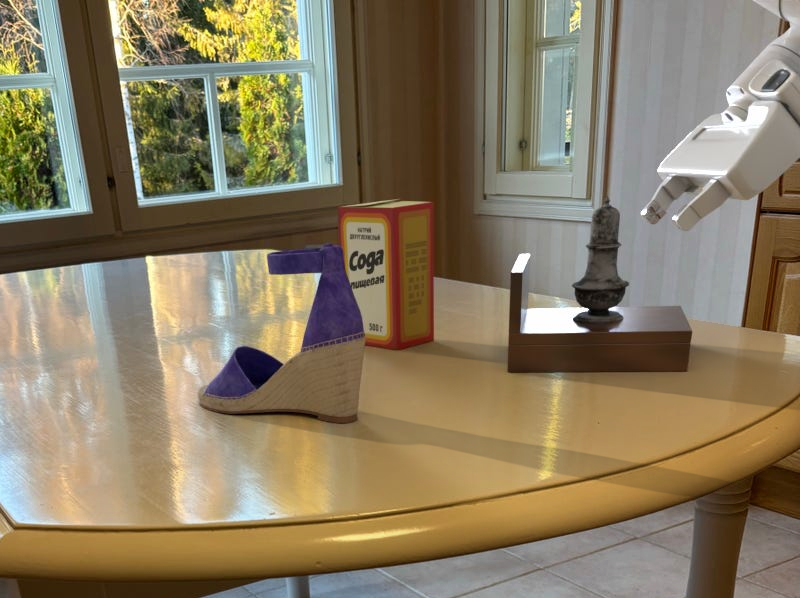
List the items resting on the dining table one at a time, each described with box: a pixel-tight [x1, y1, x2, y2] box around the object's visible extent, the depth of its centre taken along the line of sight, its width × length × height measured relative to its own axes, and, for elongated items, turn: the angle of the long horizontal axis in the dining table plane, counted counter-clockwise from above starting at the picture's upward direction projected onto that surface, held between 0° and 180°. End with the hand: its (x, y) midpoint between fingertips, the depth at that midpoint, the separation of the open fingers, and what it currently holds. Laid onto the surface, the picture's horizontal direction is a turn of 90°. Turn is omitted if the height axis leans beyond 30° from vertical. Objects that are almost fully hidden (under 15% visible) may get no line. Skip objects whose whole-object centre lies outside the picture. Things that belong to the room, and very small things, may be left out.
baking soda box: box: [336, 198, 435, 351], centre depth 113 cm, size 10×6×16 cm
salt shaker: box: [571, 196, 630, 323], centre depth 98 cm, size 6×6×12 cm
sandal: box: [197, 242, 366, 424], centre depth 87 cm, size 8×20×15 cm, turn 45°
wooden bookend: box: [507, 253, 693, 373], centre depth 100 cm, size 18×14×10 cm
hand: (661, 223), depth 95 cm, fingers open, 8 cm apart
